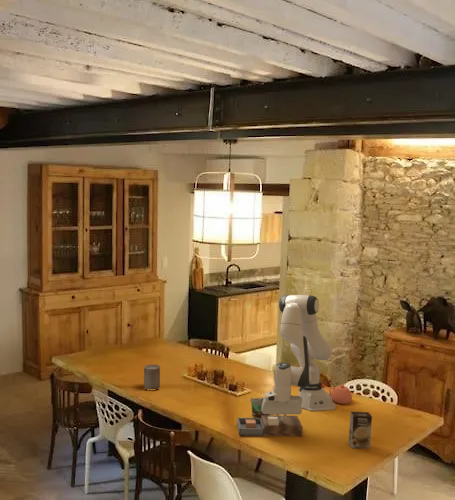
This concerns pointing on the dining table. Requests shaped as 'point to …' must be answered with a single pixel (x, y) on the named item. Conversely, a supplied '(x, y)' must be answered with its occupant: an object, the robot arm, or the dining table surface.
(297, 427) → the block
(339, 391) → the sugar bowl
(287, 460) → the dining table surface
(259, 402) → the food container
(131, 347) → the dining table surface
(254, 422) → the terracotta tile
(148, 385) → the smart speaker
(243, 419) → the bin
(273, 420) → the cream block
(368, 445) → the coffee box
